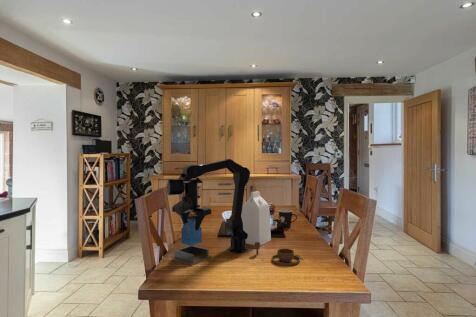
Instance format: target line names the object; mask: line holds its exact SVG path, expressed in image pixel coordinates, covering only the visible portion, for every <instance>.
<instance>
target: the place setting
mask: <svg viewBox="0 0 476 317" xmlns="http://www.w3.org/2000/svg"><path fill="white" fill-rule="evenodd" d="M254 248H255V250H256V251H255V253H256V254H255V256H259V249H260V248H261V245H260V243H259V242H255V245H254ZM276 259H279V260H280V261H276ZM292 260H295V261H294V262H291V261H292ZM301 260H302V261H304V262H305V261H306V260H305V259H303V258H302V257H301V256H300V255H297V254H295V251H294V250H293V249H290V248H279V249H277V253H276V254H275V255H273V256H271V262H273V264H276V265H278V266H283V267H285V266H286V267H291V266H297V265H298V264H299V263H300V261H301ZM261 261H265V260H264V258H261Z"/></svg>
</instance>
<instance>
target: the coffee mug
mask: <svg viewBox="0 0 476 317" xmlns="http://www.w3.org/2000/svg"><path fill="white" fill-rule="evenodd" d="M293 216H295V219H294V220H292V218H293ZM278 219H279V227H280V226H282V227H283V228H282V227H281V228H282V229H290V228H291V227H292V223H294V222H296V221H297V219H298V216H297V214H295V213H293V210H291V209H279V210H278Z"/></svg>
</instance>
